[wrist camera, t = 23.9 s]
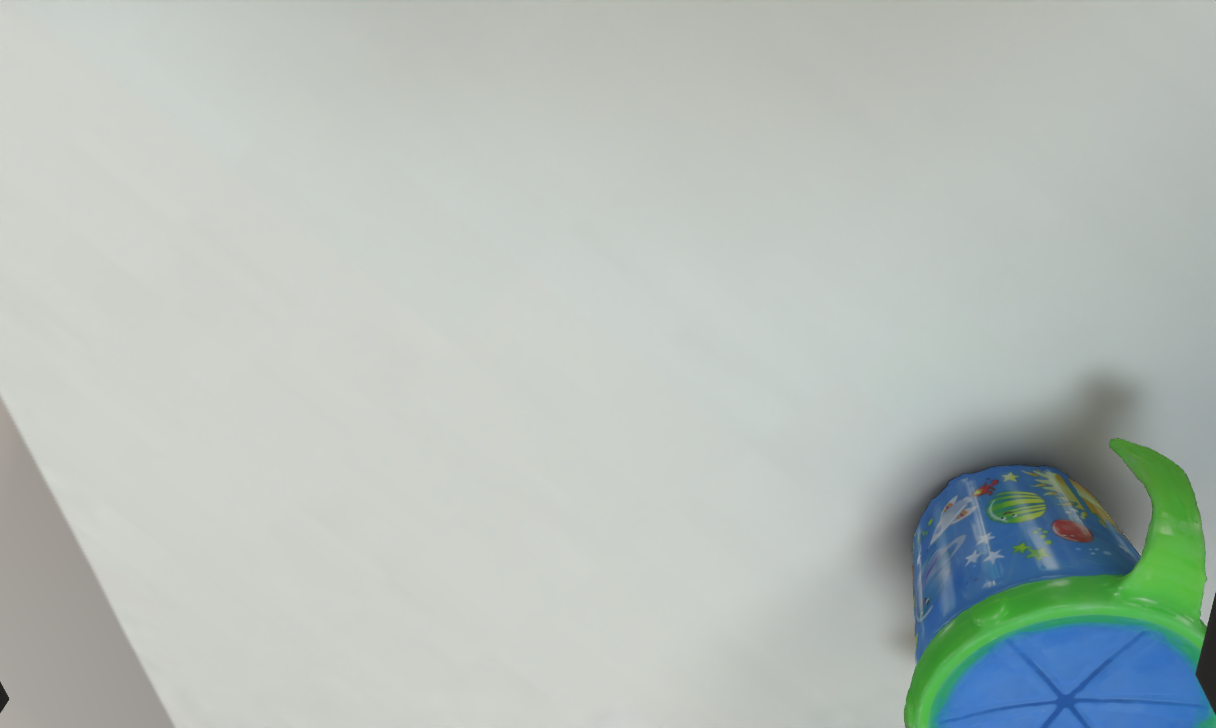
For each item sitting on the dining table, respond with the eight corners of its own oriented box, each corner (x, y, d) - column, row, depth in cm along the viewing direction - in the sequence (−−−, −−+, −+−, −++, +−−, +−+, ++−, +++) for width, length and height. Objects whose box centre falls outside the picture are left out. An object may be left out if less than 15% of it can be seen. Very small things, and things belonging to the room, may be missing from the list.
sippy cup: (1018, 331, 42) (1103, 505, 34) (1239, 444, 44) (1372, 637, 36) (793, 598, 50) (814, 796, 41) (989, 684, 52) (1049, 889, 43)
